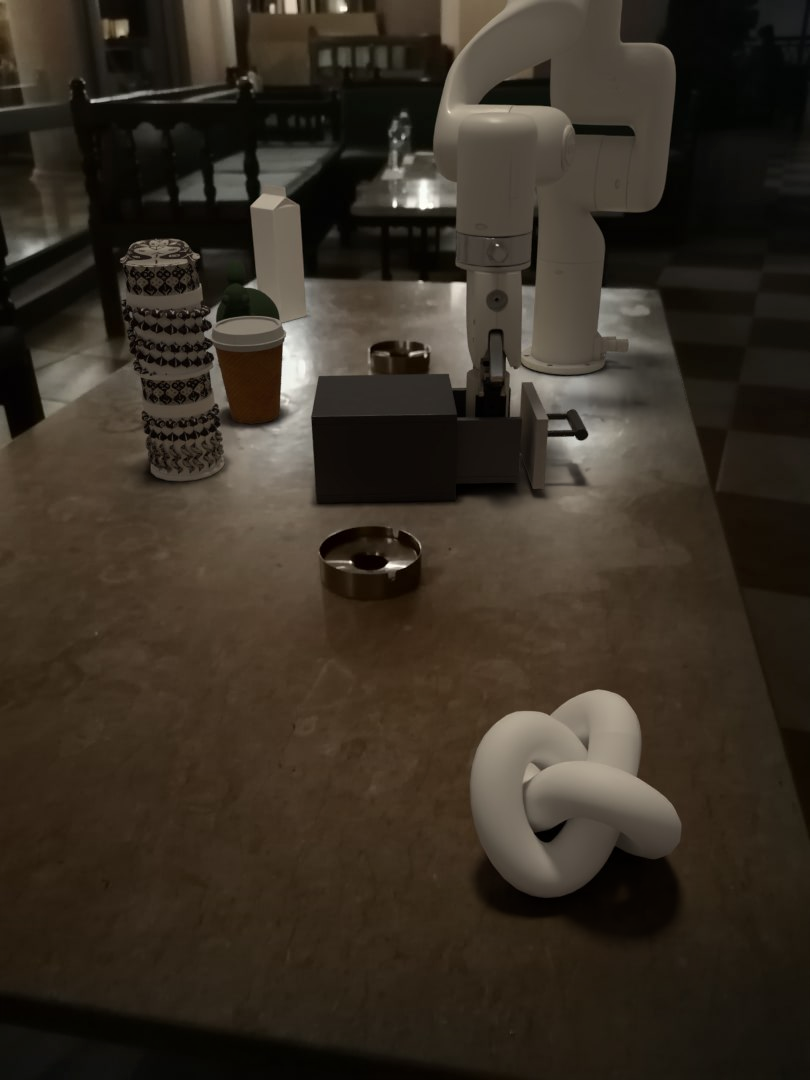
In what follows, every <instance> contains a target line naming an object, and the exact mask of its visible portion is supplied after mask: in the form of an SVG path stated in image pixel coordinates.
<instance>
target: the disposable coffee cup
mask: <svg viewBox="0 0 810 1080" xmlns="http://www.w3.org/2000/svg"><path fill="white" fill-rule="evenodd" d="M211 329H212V330H211V334H210V335H209V339H210V340H211V341H212V342H213V347H214V349H215V353H216V357H217V362H218V366H219V370H220V374H221V377H222V382H223V386H224V390H225V395H226V399H227V403H228V407H229V411H230V415H231V419H232V421H233V420H234V421H235V422H237V423H241V424H251V425H254V424H263V423H268V422H271V421H274V420H275V419H277V418H279V416H280V414H281V395H282V393H281V391H282V376H283V375H282V373H283V354H284V353H283V351H284V343H285V340H286V337H287V331H286V330H285V329H284V327H283V323H281V321H279V320H277V319H275V318H271V317H263V316H242V317H234V318H229V319H225V320H222V321H219V322H217V323H216V322H215V323H214V324H212V328H211Z"/></svg>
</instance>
